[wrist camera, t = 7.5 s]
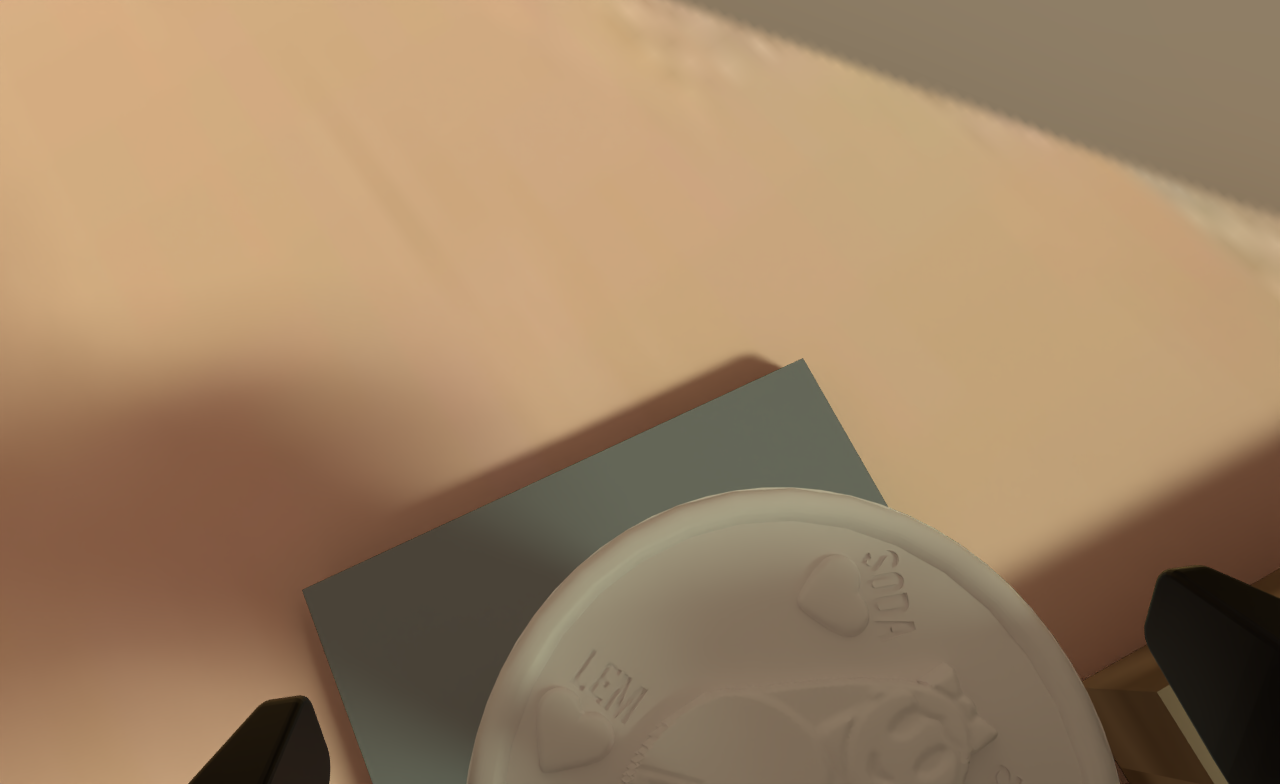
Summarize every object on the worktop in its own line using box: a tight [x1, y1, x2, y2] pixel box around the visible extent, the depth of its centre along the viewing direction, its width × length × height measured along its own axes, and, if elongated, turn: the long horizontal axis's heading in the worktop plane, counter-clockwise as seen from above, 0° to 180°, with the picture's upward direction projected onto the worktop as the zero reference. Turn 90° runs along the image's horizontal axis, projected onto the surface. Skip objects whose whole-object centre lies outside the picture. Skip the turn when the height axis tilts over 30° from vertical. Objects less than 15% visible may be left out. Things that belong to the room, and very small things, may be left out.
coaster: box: [302, 358, 888, 784], centre depth 18 cm, size 12×12×1 cm
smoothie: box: [466, 487, 1120, 784], centre depth 10 cm, size 6×6×14 cm
